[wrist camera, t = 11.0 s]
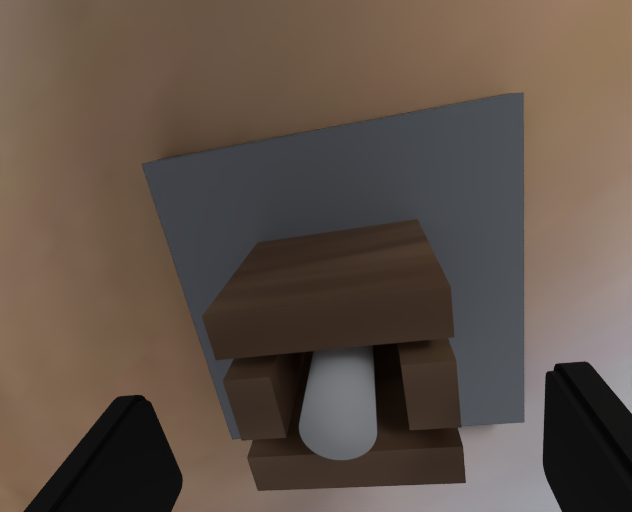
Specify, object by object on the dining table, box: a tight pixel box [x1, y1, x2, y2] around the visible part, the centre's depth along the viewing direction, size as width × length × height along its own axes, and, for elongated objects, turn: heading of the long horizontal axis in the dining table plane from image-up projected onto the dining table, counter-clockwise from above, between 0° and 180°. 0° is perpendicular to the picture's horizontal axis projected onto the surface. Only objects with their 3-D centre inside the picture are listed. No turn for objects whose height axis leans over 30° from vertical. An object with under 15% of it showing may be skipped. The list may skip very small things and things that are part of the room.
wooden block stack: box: [202, 219, 466, 491], centre depth 14 cm, size 6×6×6 cm
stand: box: [142, 93, 524, 460], centre depth 14 cm, size 14×14×8 cm
